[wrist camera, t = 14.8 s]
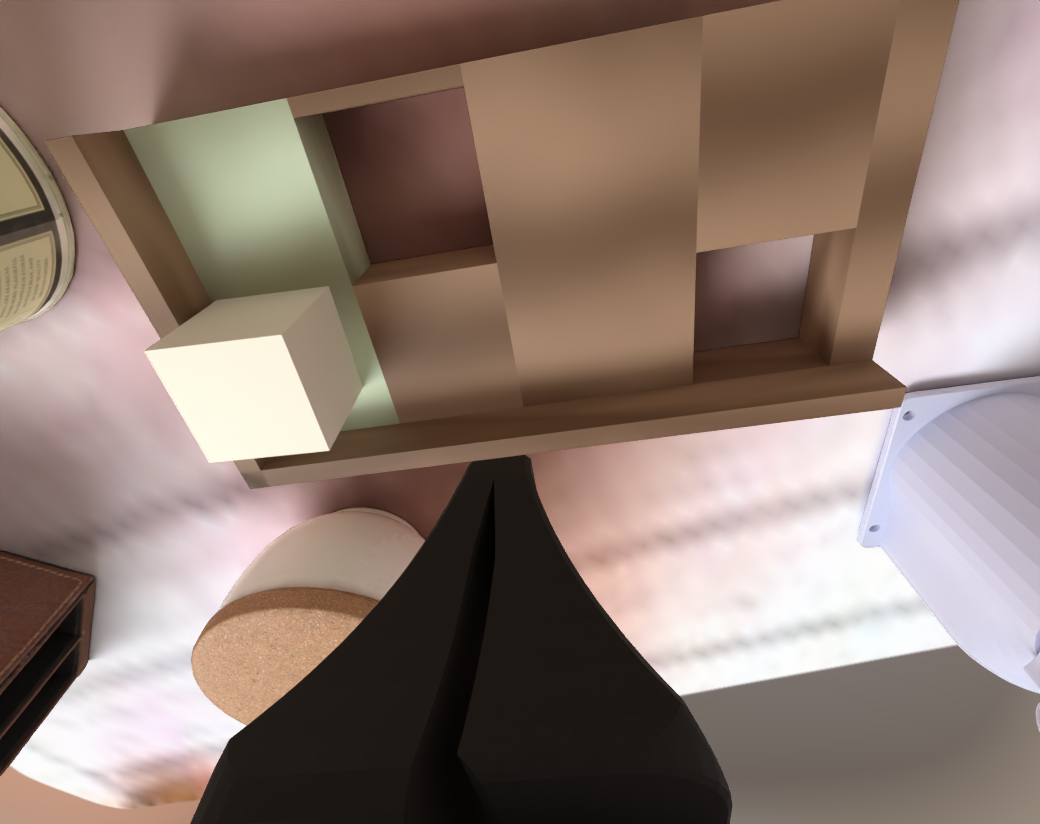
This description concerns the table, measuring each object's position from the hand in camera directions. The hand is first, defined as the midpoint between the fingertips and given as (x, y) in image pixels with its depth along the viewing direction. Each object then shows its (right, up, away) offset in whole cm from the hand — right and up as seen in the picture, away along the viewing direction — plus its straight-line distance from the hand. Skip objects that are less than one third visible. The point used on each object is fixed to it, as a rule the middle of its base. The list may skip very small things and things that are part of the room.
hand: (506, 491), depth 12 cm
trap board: (+1, +8, +7) cm, 11 cm away
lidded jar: (-8, -5, +16) cm, 19 cm away
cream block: (-8, +4, +7) cm, 11 cm away
